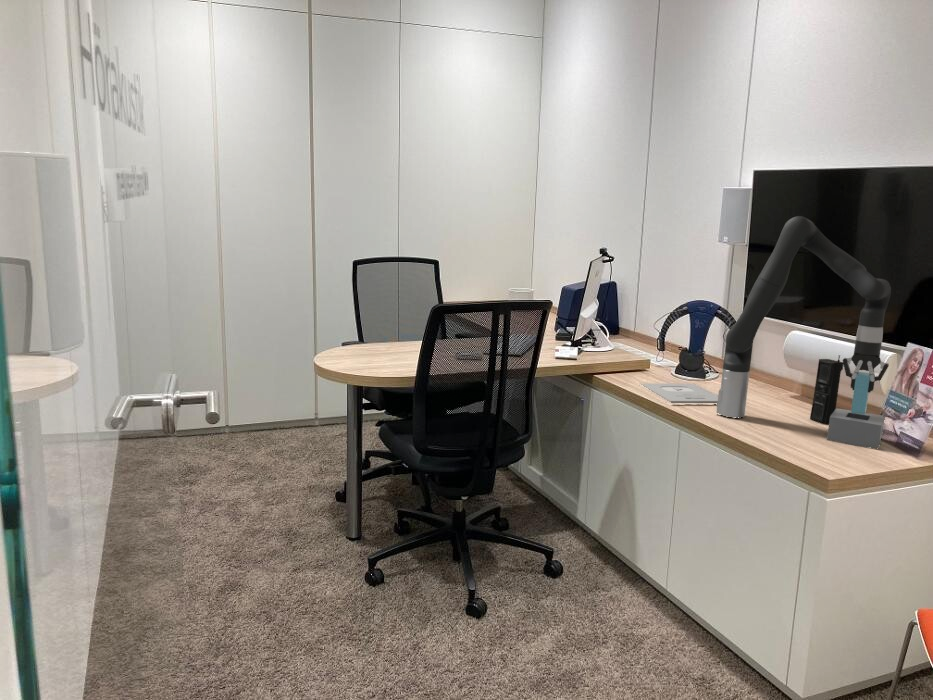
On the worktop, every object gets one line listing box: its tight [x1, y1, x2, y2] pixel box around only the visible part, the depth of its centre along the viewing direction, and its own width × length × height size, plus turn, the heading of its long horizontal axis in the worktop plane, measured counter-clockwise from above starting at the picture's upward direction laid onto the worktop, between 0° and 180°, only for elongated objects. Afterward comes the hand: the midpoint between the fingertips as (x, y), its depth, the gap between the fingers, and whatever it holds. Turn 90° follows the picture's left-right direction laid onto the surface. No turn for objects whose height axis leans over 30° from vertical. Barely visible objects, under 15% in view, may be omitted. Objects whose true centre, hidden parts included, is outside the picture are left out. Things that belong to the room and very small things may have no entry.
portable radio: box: [809, 354, 844, 425], centre depth 265 cm, size 8×6×25 cm
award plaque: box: [639, 382, 718, 403], centre depth 298 cm, size 25×30×2 cm
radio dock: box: [826, 407, 886, 449], centre depth 245 cm, size 15×15×8 cm
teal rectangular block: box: [850, 371, 870, 415], centre depth 243 cm, size 4×5×13 cm
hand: (861, 390), depth 242 cm, fingers closed on teal rectangular block, 4 cm apart
